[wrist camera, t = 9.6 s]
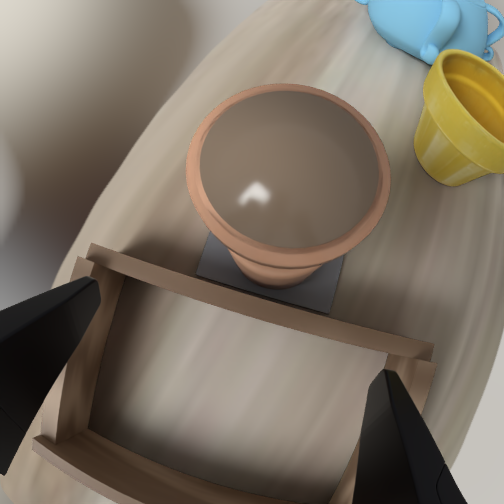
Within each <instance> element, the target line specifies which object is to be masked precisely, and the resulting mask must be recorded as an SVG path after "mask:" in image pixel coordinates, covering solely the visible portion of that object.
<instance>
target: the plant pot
mask: <svg viewBox="0 0 504 504" xmlns="http://www.w3.org/2000/svg"><path fill="white" fill-rule="evenodd" d="M423 96H424V100H425V103H424V106H423V110H422V113H421V117H420V120H419V124H418V127H417V130H416V133H415V136H414V150H415V153H416V156H417V159H418V161H419V163H420V164H421V166H422V167H423V169H424V170H425V171H426V172H427V173H428V174H429V175H430V176H431V177H432V178H433V179H435V180H436V181H438V182H440V183H442V184H444V185H447V186H459V185H461V184H464V183H466V182H469V181H471V180H474V179H476V178H479V177H481V176H484V175H487V174H489V173H497V174H504V75H503V74H502V73H501V72H499V71H498V70H497V69H496V68H495V67H493V66H492V65H491V64H489V63H488V62H486V61H485V60H483V59H482V58H480V57H478V56H476V55H474V54H472V53H469V52H467V51H463V50H459V49H447V50H444V51H442V52H441V53H440V54H439V55H438V56H437V58H436V59H435V61H434V63H433V65H432V67H431V69H430V71H429V73H428V75H427V77H426V79H425V82H424V86H423Z"/></svg>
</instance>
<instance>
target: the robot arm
mask: <svg viewBox="0 0 504 504" xmlns="http://www.w3.org/2000/svg"><path fill="white" fill-rule="evenodd" d="M100 304H101V294H100V288H99V283H98V281H97V280H96V279H94V278H92V277H90V276H84V277H82V278H79V279H77V280H74V281H72V282H69V283H66V284H64V285H61V286H59V287H57V288H54V289H52V290H49V291H47V292H44V293H42V294H39V295H37V296H34V297H32V298H30V299H27V300H25V301H23V302H20V303H18V304H15V305H13V306H11V307H8V308H6V309H4V310H1V311H0V474H2V475H3V476H5V474H6V473H7V471H8V468H9V466H10V464H11V462H12V460H13V458H14V456H15V454H16V452H17V450H18V448H19V446H20V444H21V442H22V440H23V438H24V436H25V434H26V432H27V430H28V429H29V427H30V425H31V423H32V421H33V419H34V417H35V416H36V414H37V412H38V410H39V409H40V407H41V405H42V403H43V402H44V400H45V398H46V396H47V395H48V393H49V391H50V390H51V388H52V386H53V385H54V383H55V381H56V380H57V378H58V376H59V375H60V373H61V372H62V370H63V368H64V367H65V365H66V364H67V362H68V360H69V359H70V357H71V356H72V354H73V353H74V351H75V349H76V348H77V346H78V345H79V343H80V342H81V340H82V338H83V336H84V334H85V332H86V330H87V328H88V327H89V325H90V323H91V321H92V319H93V317H94V315H95V314H96V312H97V310H98V308H99V306H100ZM444 463H445V461H444V459H443V457H442V455H441V453H440V451H439V449H438V447H437V445H436V443H435V441H434V439H433V437H432V435H431V433H430V431H429V429H428V428H427V426H426V424H425V422H424V420H423V418H422V416H421V414H420V413H419V411H418V409H417V407H416V405H415V403H414V402H413V400H412V398H411V396H410V394H409V393H408V391H407V389H406V387H405V386H404V384H403V382H402V380H401V379H400V377H399V375H398V373H397V372H396V371H394V370H389V369H383V370H381V372H380V373H379V374H378V375H377V377H376V378H375V379H374V380H373V381H372V383H371V384H370V386H369V389H368V395H367V401H366V407H365V412H364V418H363V423H362V428H361V434H360V443H359V453H358V462H357V471H356V478H355V485H354V492H353V499H352V504H467V502H466V500H465V499H464V497H463V495H462V494H461V492H460V490H459V488H458V486H457V485H456V483H455V481H454V479H453V477H452V475H451V473H450V471H449V469H448V467H447V465H446V464H444Z"/></svg>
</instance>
